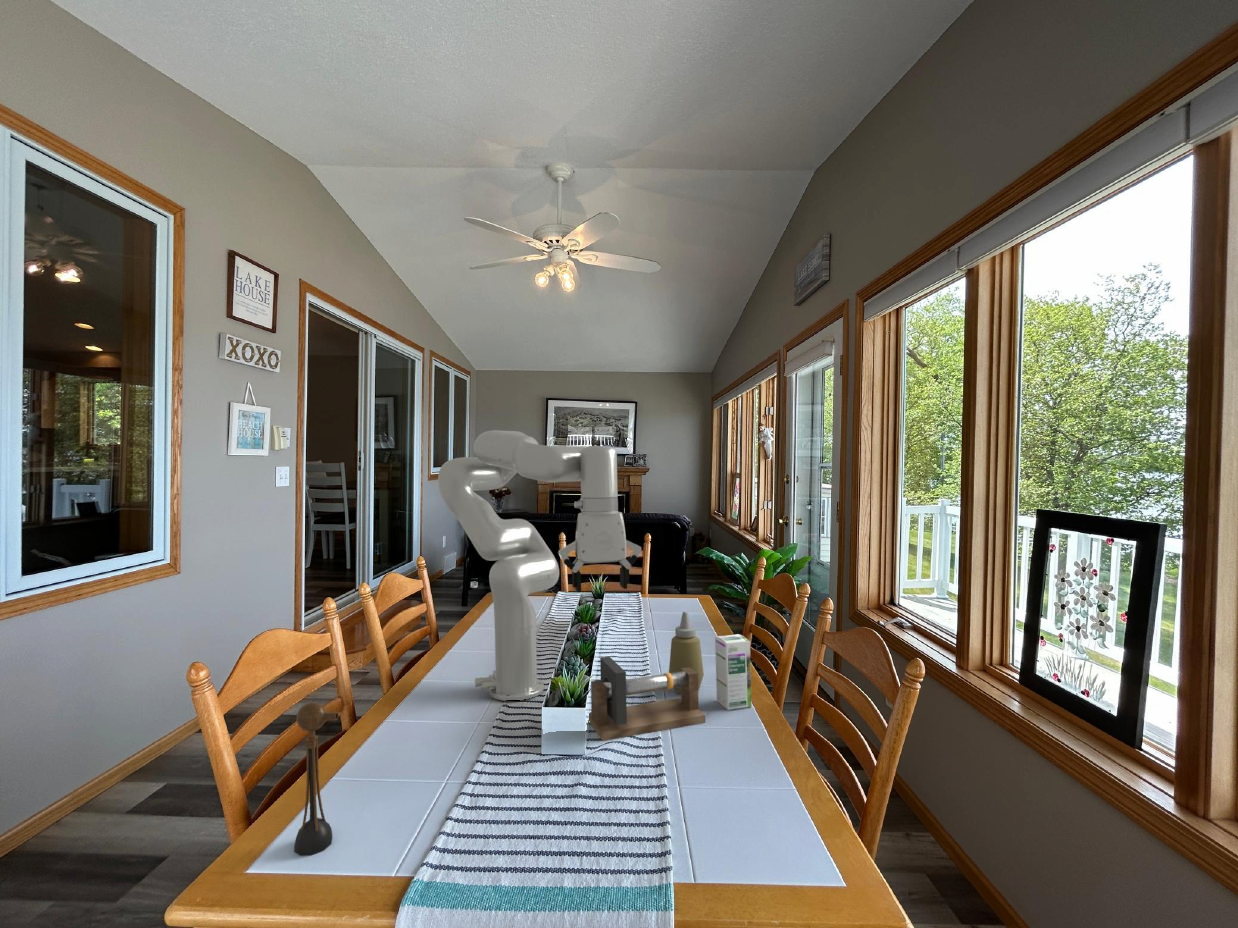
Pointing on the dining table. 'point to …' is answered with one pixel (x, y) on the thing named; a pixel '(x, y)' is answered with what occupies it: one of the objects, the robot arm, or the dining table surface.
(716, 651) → the syrup box
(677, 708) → the pipe stand
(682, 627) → the squeeze bottle
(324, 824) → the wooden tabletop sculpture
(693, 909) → the dining table surface
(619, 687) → the dark grey square plate
